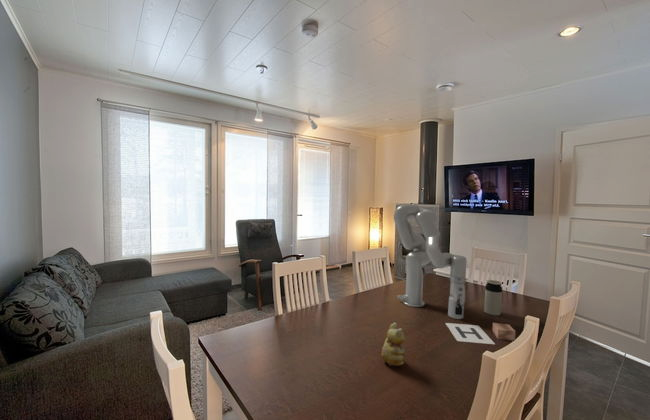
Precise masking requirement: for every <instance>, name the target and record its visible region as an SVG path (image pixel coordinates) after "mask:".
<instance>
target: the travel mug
mask: <svg viewBox="0 0 650 420" xmlns="http://www.w3.org/2000/svg"><path fill="white" fill-rule="evenodd" d="M502 284H503V282H502V281H499V280H496V279H487V280H486V285H485V289H484V290H485V291H484V294H485V295H484V304H483V305H484V306H483V307H484V308H483V311H484V312H485V314H488V315H490V316H495V317H496V316H500V315H501V312H502V300H503V299H502V297H503V287H502Z"/></svg>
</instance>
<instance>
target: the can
mask: <svg viewBox="0 0 650 420" xmlns="http://www.w3.org/2000/svg"><path fill="white" fill-rule="evenodd" d="M457 301H460V300H457ZM458 304H459V302H458ZM447 305H448V306H447V310H448V311H447V316H448V317H450V318H451V319H453V320H461V319H462V320H463V319H464V315H465V314H464V312H465V307H464V306H465V302H463V308H462V315H456V314H455V309H456V301H455V300H454V297H453V296H451V295H450V294H449V297H448V304H447Z"/></svg>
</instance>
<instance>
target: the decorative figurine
mask: <svg viewBox="0 0 650 420" xmlns="http://www.w3.org/2000/svg"><path fill="white" fill-rule="evenodd" d="M405 340H406V338H405V334H404V333H403V329H402V328H398V324H397V322H393V323H391V324H390V325H389V327H388V330H387V332H386V338H385V340H384V342H383V346H382V348H381V360H382V361H384V362H385V363H387V364H388V366H394V367H395V366H396V367H398V366H403V365H404V355H405V353H406V350H405V348H403V347H402V344H403V343H404V342H405Z"/></svg>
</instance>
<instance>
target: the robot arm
mask: <svg viewBox="0 0 650 420" xmlns="http://www.w3.org/2000/svg"><path fill="white" fill-rule="evenodd" d="M409 219H413V220H414V219H415V221H416V223H417V225H418V227H419V229H420V231H421V233H422V234H420V233H418V232H414V230H413V227H412V225H411V223H410V222H409ZM393 220H394V224H395V226H396V230H397V232H398V235H399V239H400V241H401V244H402V246H403V248H405V250H409V251H410V252H409V253H408V254H406V256H405V267H406V275H405V277H406V279H405V293H404V294H403V295H401V294H398V295H397V299H400V300H402V303H403V304H404V305H405V306H409V307H413V308H422V307H424V306H425V301H424V300H423V285H424V272H423V271H424V270H423V268H422V267H423V266H425V265H428V264H430V262H431V263H432V265H433V266H434V267H435V268H437V269H445V268H448V267H450V270H449V271H450V272H449V281H450V287H449V296H450V295H451V296H453V297H454V300H455V301H456V309H455V314H456V315H462V308H463V302H464V303H465V302H466V285H465V284H466V281H467V280H466V278H467V277H466V276H467V258H466V257H465V256H463V255H456V254H453V253H451V252H450V253H449V252H441V249H440V247H439V239H440V236H441V233H440V231H439V229H438V228H437V225H436V222H437V220H438V217H437V214H436V212H434V211H433V210H430V209H427V208H424V207H422V206H419V205H417V204H416V205H415V204H403V205H399V206H398V207H397V208H396V209H395V210H394V213H393ZM411 250H413V251H411ZM457 300H460V301H457ZM458 302H459V304H458Z"/></svg>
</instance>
